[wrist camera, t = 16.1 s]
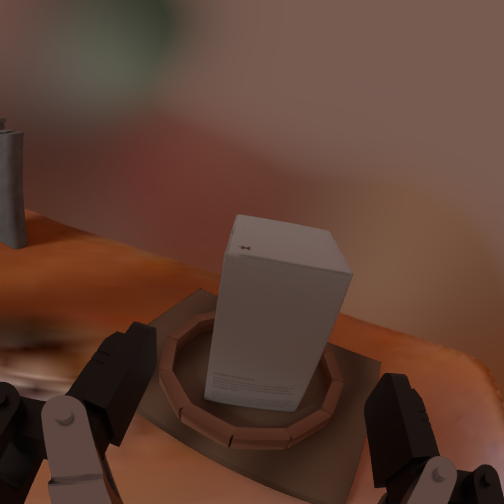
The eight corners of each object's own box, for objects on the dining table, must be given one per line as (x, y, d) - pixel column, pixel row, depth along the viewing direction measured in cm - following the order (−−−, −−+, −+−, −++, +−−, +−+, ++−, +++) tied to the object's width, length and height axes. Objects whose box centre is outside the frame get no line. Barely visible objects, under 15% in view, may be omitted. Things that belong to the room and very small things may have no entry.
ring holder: (89, 373, 21) (84, 353, 20) (199, 295, 35) (201, 277, 34) (337, 511, 13) (353, 500, 12) (377, 368, 28) (386, 351, 27)
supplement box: (296, 414, 21) (357, 275, 15) (201, 401, 20) (220, 250, 15) (292, 353, 27) (332, 229, 22) (215, 340, 27) (235, 210, 22)
